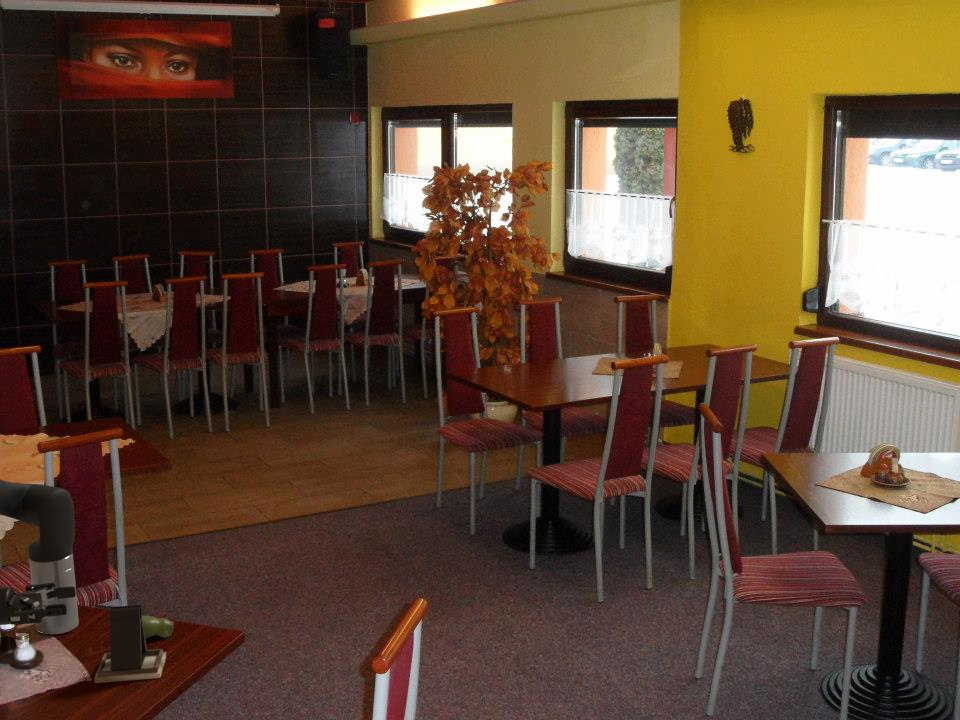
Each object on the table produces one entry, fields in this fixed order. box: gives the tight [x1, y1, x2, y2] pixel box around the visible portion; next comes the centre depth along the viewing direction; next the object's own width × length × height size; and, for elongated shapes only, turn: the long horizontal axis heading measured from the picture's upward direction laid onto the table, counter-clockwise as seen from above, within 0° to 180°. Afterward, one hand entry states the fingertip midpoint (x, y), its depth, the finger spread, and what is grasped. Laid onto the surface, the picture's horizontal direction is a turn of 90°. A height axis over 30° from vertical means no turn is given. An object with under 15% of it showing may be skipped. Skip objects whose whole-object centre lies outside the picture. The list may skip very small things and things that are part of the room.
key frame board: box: [93, 648, 167, 684], centre depth 236 cm, size 10×13×2 cm
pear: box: [142, 615, 175, 640], centre depth 251 cm, size 6×5×10 cm
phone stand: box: [108, 604, 148, 671], centre depth 234 cm, size 9×6×12 cm, turn 8°
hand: (71, 600), depth 232 cm, fingers open, 8 cm apart
